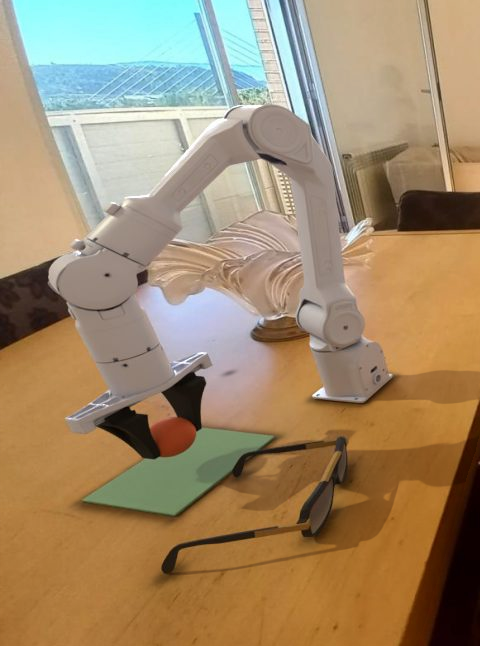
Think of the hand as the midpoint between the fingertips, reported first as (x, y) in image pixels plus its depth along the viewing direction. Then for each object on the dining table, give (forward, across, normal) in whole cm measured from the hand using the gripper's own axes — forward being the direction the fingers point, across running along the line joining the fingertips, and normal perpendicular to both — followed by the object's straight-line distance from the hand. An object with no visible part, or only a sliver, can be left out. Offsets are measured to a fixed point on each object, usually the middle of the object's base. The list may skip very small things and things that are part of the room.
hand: (173, 442), depth 61 cm
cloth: (+4, 0, 0) cm, 4 cm away
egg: (-1, 0, 0) cm, 1 cm away
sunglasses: (+4, +4, +18) cm, 19 cm away
